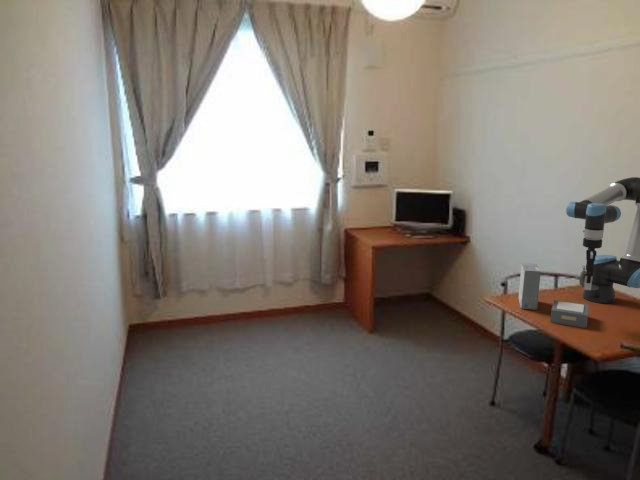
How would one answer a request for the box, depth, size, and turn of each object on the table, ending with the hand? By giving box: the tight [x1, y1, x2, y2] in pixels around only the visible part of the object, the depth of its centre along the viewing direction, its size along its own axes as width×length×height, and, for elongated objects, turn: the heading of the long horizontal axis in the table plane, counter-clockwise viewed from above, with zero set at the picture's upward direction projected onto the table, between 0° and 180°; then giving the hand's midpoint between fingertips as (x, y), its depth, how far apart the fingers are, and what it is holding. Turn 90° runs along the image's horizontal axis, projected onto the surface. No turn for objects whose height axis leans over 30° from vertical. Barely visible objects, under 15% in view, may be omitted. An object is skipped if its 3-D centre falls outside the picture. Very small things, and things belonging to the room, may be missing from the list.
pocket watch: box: [578, 265, 599, 290], centre depth 229 cm, size 8×8×10 cm
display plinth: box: [549, 299, 590, 329], centre depth 236 cm, size 15×15×6 cm
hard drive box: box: [518, 262, 542, 311], centre depth 255 cm, size 16×8×20 cm, turn 164°
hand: (587, 287), depth 230 cm, fingers closed on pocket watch, 7 cm apart
